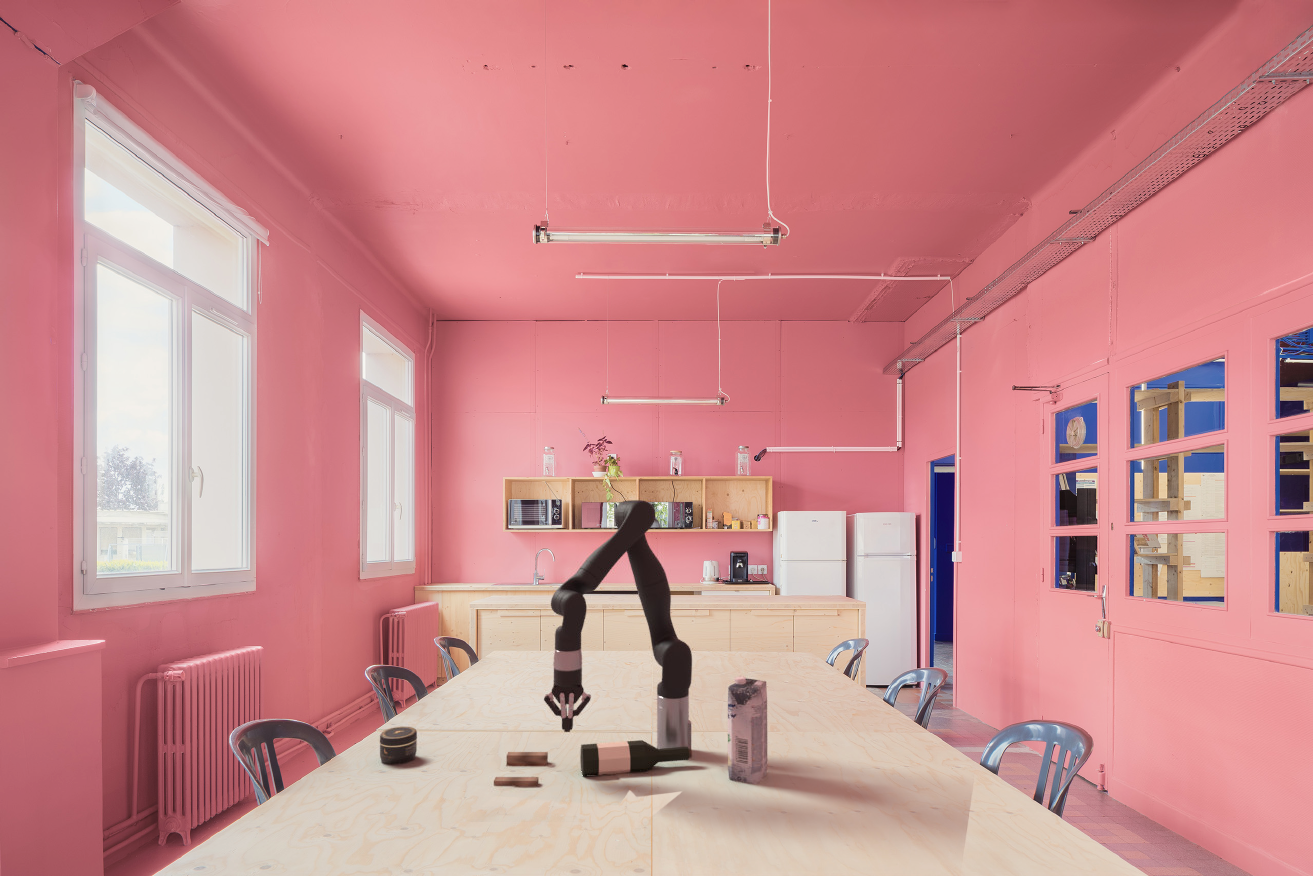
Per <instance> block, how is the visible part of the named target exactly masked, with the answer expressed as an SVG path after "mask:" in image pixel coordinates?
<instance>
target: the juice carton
mask: <svg viewBox="0 0 1313 876" xmlns="http://www.w3.org/2000/svg"><path fill="white" fill-rule="evenodd" d="M767 687H768V686H767V681H766V680H760V679H753V678H747V677H746V676H741V675H740V676H735V677H734V683H733V684H730V685H729V686H728V687H727V688H728V689H727V691H728V693H727V769H728V771H727V772H728V773H727V774H728V779H729V780H730V781H732V782H740V783H746V784H752V785H753V784H754V785H755V784H759V783H760V782H761V780H762V779H763V778H764V777H766V775H767V771H768V691H767Z"/></svg>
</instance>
